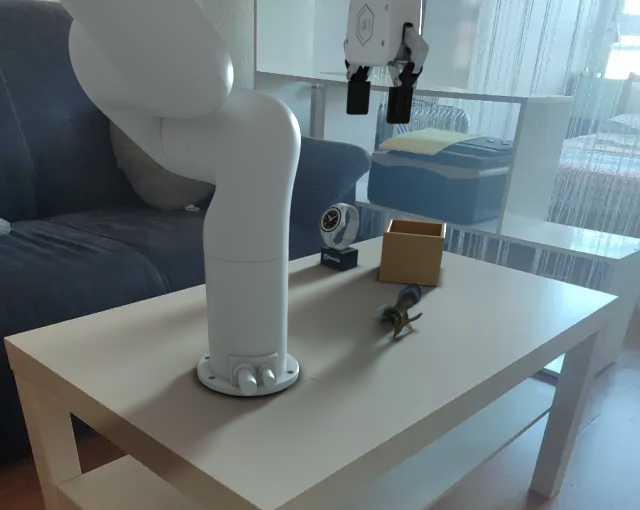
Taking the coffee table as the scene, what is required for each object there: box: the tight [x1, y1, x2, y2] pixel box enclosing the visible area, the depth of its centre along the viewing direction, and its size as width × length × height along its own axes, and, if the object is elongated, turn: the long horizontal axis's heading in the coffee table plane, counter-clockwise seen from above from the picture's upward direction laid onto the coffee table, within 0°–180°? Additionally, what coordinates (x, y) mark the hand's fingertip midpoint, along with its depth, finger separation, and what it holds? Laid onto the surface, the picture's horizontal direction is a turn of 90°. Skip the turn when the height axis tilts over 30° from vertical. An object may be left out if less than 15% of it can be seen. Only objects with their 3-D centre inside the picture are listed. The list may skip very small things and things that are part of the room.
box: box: [378, 217, 447, 287], centre depth 114 cm, size 10×10×8 cm
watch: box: [319, 202, 360, 271], centre depth 116 cm, size 6×8×11 cm
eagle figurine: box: [374, 282, 424, 340], centre depth 92 cm, size 8×7×9 cm
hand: (376, 118), depth 81 cm, fingers open, 9 cm apart
